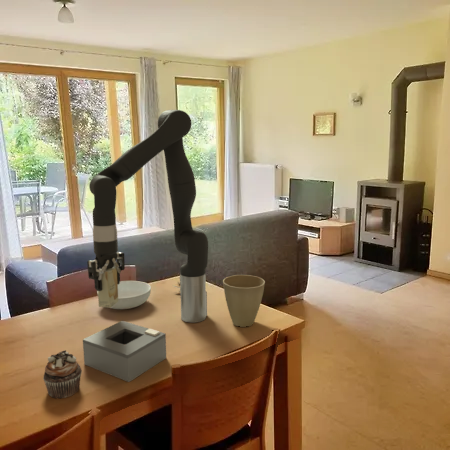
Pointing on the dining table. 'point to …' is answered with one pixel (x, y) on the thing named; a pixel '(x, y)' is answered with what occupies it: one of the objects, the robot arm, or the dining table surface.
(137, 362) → the grey square box
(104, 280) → the skincare box
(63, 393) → the cupcake
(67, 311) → the dining table surface
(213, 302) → the dining table surface
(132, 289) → the serving bowl
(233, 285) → the plant pot
